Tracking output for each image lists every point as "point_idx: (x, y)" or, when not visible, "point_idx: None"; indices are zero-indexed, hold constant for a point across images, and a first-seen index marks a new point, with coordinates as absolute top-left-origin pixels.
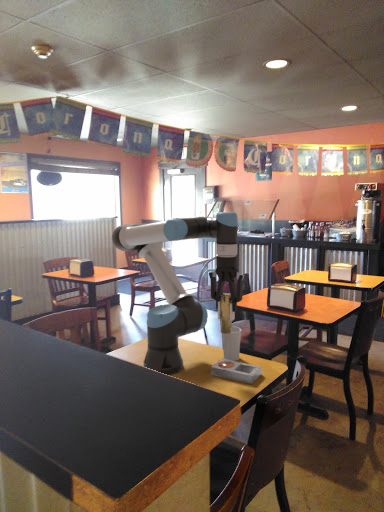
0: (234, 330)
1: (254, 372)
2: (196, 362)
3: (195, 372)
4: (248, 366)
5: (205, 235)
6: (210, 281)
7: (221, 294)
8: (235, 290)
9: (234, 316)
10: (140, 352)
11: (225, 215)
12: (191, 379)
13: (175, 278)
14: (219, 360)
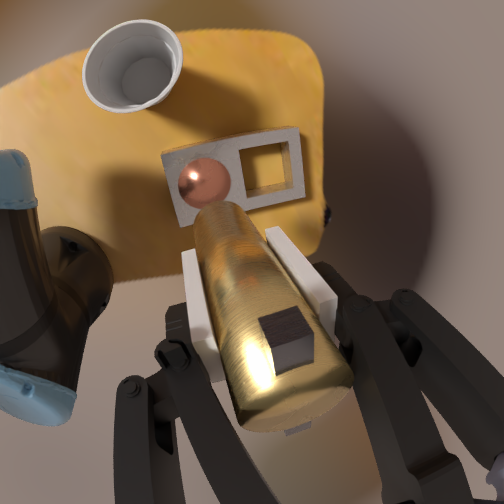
0: (125, 32)
1: (301, 174)
2: (90, 189)
3: (139, 237)
4: (264, 144)
5: None
6: None
7: (257, 428)
8: (413, 386)
9: (285, 236)
10: None
11: None
12: (164, 270)
13: None
14: (166, 173)
